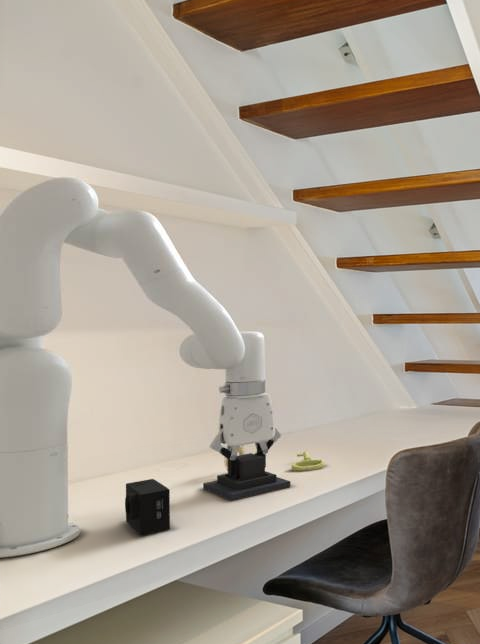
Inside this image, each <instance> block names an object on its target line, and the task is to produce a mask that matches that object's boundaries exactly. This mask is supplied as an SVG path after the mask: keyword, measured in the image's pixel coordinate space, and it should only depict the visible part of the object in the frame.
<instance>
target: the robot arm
mask: <svg viewBox="0 0 480 644" xmlns="http://www.w3.org/2000/svg"><path fill="white" fill-rule="evenodd" d="M99 202H100V201H99V197H98V195H97V192H96V191H95V189H94V188H93V187H92V186H91V185H90V184H88V183H87V182H85V181H83V180H81V179H78V178H75V177H67V176H66V177H65V176H62V177H55V178H51V179H48V180H45V181H42V182H40V183H37V184H35V185H32V186H30V187H29V188H27V189H26V190H24V191H22V192H21V193H20V194H18V195H17V196H16V197H15V198H13V200H12V201H11V202H10V203H9V204H8V205H6V207H5V208H4V209H3V211H2V212H1V214H0V558H8V557H9V558H10V557H18V556H25V555H30V554H34V553H38V552H43V551H46V550H49V549H53V548H56V547H59V546H61V545H65V544H67V543H69V542H71V541H73V540H74V539H76V538H77V537H78V536H79V535H80V534H81V527H80V525H79V524H77V523H73V522H69V466H68V465H69V456H68V454H69V451H68V447H69V445H68V444H69V442H68V420H69V419H68V418H69V417H68V416H69V409H70V401H71V393H72V389H73V388H72V387H73V376H72V371H71V368H70V366H69V364H68V363H67V361H66V359H64V357H62V356H61V355H60V354H58V353H56V352H55V351H53V350H50V349H47V348H44V336H46V335H48V334H49V333H51V332H53V331H54V330H55V329H56V328H57V327H58V326H59V324H60V322H61V320H62V315H63V308H62V306H63V305H62V291H61V290H62V288H61V270H60V269H61V255H62V248H63V245H64V244H67V245H69V246H71V247H72V246H73V247H76V248H77V249H78V248H79V249H81V250H85V251H86V252H87V251H88V252H90V253H95V254H97V255H100V256H104V257H109V258H114V259H115V258H116V259H122V261H123V263H124V264H125V265H126V267H127V268H128V269H129V271H130V273H131V274H132V276H133V277H134V279H135V281H136V282H137V284H138V285H139V287H140V289H141V290H142V292H143V294H144V295H145V297H146V298H147V299H148V300H149V301H150V302H151V303H153V304H155V305H156V306H157V307H159V308H161V309H163V310H165V311H167V312H169V313H170V314H173V315H174V316H175V317H177V318H178V319H180V321H182V322H183V323H184V324H185V325H186V326H187V328H189V329H190V330H191V331H192V333H191V334H190V335H188V336H186V338H184V339H183V340H182V342H181V343H180V346H179V356H180V358H181V360H182V361H183V362H184V363H185V364H186V365H188V366H190V367H192V368H194V369H195V368H196V369H204V370H225V382H224V385H221V386H219V387H218V391H219V393H220V394H222V393H223V394H224V395H225V396H224V397H222V401H221V406H220V412H219V421H218V432H217V434H216V436H215V437H214V438H213V440H212V442H211V443H210V444H209V448H210V449H211V450H213V451H215V452H217V453H219V454H221V455H222V456H223V458H224V457H225V458H227V459H228V471H227V473H228V474H229V475H230V477H231V478H234V479H238V478H239V460H238V459H237V456H238V454H239V452H238V449H239V446H240V445H244V446H245V445H250V444H254V446H255V450H256V452H255V453H254V454H255V455H259V456H262V457H265V468H266V467H267V454H268V453H269V451H270V449H271V447H272V446H273V445H274V443H276V442H277V441H278V440H279V439H280V438H281V437H282V435H281V433H280V432H279V430H278V429H277V428H276V427H275V426H276V425H275V415H274V408H273V402H272V398H271V395H270V393H266V348H265V347H266V345H265V342H266V341H265V336H264V334H263V333H262V332H260V331H240V330H239V329H238V327H237V325H236V323H235V322H234V320H233V319H232V316H231V315H230V314H229V312H228V311H227V309H225V308H224V306H223V305H222V304H221V303H220V302H219V301H218V299H216V298H215V297H214V296H213V295H212V294H211V293H209V291H208V290H207V289H206V288H205V287H203V286H202V285H201V284H200V283H199V282H198V281H196V279H195V278H194V277H193V275H192V274H191V272H190V271H189V269H188V267H187V265H186V264H185V262H184V261H183V259H182V257H181V255H180V254H179V252H178V250H177V249H176V247H175V245H174V243H173V242H172V240H171V238H170V237H169V235H168V233H167V232H166V230H165V228H164V227H163V225H162V224H161V222H160V221H159V219H157V217H156V216H155V215H154V214H153V213H150V212H148V211H146V210H142V209H127V210H123V211H118V212H112V211H108V210H105V209H102V208H99V206H100V205H99V204H100V203H99ZM222 444H223V445H227V444H228V445H227V449H226V447H225V446H222ZM240 447H241V446H240Z"/></svg>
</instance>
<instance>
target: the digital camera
mask: <svg viewBox="0 0 480 644" xmlns="http://www.w3.org/2000/svg"><path fill="white" fill-rule="evenodd" d="M170 492H171V491H170V489H169V488H168V487H167V486H165V485H164V484H162V483H161V482H159V481H158V480H156V479H154V478H149V479H145V480H138V481H132V482H128V483H125V498H124V511H125V522H126V523H127V524H128V526H130V528H131V529H133V531H135V533H136V534H138V535H139V537H142V536H143V537H144V536H147V535H152V534H155V533H160V532H164V531H165V532H166V531H169V530H171V508H170V507H171V505H170V504H171V503H170V502H171V500H170V499H171V497H170V495H171V494H170Z"/></svg>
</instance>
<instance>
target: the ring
mask: <svg viewBox="0 0 480 644" xmlns="http://www.w3.org/2000/svg"><path fill="white" fill-rule="evenodd" d="M227 445H228V444H225V448H226V449H227ZM244 454H246V447H245V445H240V446H239V449H238V455H244ZM223 459H224V460H223V463H224V468H225V469H226V471H227V472H228V459H227V458H225V457H224V456H223Z"/></svg>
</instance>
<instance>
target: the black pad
mask: <svg viewBox="0 0 480 644" xmlns="http://www.w3.org/2000/svg"><path fill="white" fill-rule="evenodd" d="M237 459H238V460H239V478H238V479H240V480H242V481H244V480H249V479H253V478H258V477H262V476H265V471H266V467H265V457H262V456H259V455H255V453H251V452H248V453H245V454H244V455H239V454H237ZM229 476H230V475H229Z"/></svg>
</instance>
